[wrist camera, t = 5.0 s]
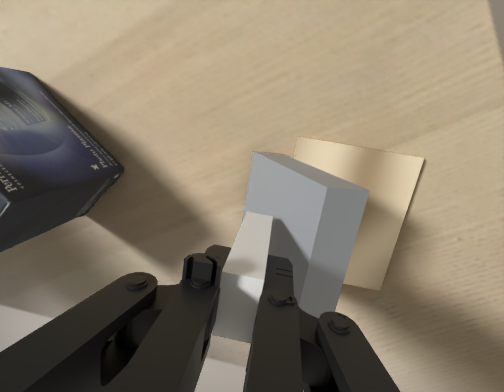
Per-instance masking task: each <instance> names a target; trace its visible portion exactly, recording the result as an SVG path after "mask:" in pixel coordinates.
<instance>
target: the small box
mask: <svg viewBox="0 0 504 392" xmlns="http://www.w3.org/2000/svg"><path fill="white" fill-rule="evenodd" d="M123 171H124V168H123V167H122V165H121V164H120V163H119V162H118V161H117V160H116V159H115V158H114V157H113V156H112V155H111V154H110V153H109V152H108V151H107V150H106V149H105V148H104V147H103V146H102V145H101V144H100V143H99V142H98V141H97V140H96V139H95V138H94V137H93V136H92V135H91V134H90V133H89V132H88V131H87V130H86V129H85V128H84V127H83V126H82V125H81V124H80V123H79V122H78V121H77V120H76V119H75V118H74V117H73V116H72V115H71V114H70V113H69V112H68V111H67V110H66V109H65V108H64V107H63V106H62V105H61V104H60V103H59V102H58V101H57V100H56V99H55V98H54V97H53V96H52V95H51V94H50V93H49V92H48V91H47V90H46V89H45V88H44V87H43V86H42V85H41V84H40V83H39V81H38V80H37V79H36V78H35V77H34V76H33V75H32V74H31V73H30V72H25V71H20V70H14V69H9V68H4V67H0V252H2V251H4V250H6V249H8V248H11V247H13V246H15V245H17V244H19V243H22V242H24V241H26V240H28V239H30V238H32V237H35V236H37V235H39V234H42V233H44V232H46V231H48V230H50V229H53V228H55V227H57V226H59V225H61V224H63V223H65V222H68V221H70V220H72V219H74V218H77V217H81V216H85V214H86V213H87V212H88V211H89V210H90V208H91V206H93V205H94V203H95V202H96V201H97V200H98V199H99V198H100V197H101V195H103V193H104V192H106V191H107V189H108V188H109V187H110V186H112V185H113V184H114V183H115V182H116V180H117V179H118V178H119V176H120V175H121V174H122V173H123Z"/></svg>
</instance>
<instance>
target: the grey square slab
mask: <svg viewBox="0 0 504 392" xmlns="http://www.w3.org/2000/svg"><path fill="white" fill-rule="evenodd" d="M369 191H370V190H368V189H366V188H363V187H361V186H358V185H356V184H354V183H351V182H349V181H346V180H344V179H342V178H339V177H337V176H334V175H332V174H330V173H327V172H325V171H322V170H320V169H317V168H315V167H313V166H310V165H308V164H305V163H303V162H301V161H298V160H296V159H293V158H291V157H289V156H286V155H284V154H275V153H266V152H256V151H253V157H252V164H251V170H250V176H249V182H248V188H247V195H246V201H245V207H244V213H243V220H244V217H245V215H246V213H247V212H252V213H258V214H263V215H268V216H273V220H272V227H271V234H270V242H269V249H268V255H273V256H278V257H283V258H288V259H289V261H290V262H291V263H292V265H293V286H294V297H295V298H296V299H297V302H298V306H299V307H300V308H301V309H302V310H303V311H305V312H306V313H308V314H310V315H312V316H314V317H317V318H319V317H320V315H321V314H322V313H324V312H330V311H332V312H335V309H336V306H337V302H338V299H339V296H340V292H341V289H342V285H343V282H344V278H345V275H346V271H347V268H348V264H349V261H350V257H351V254H352V250H353V247H354V243H355V240H356V236H357V233H358V230H359V226H360V223H361V219H362V216H363V212H364V209H365V205H366V202H367V198H368V195H369ZM243 220H242V222H243Z"/></svg>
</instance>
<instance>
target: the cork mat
mask: <svg viewBox="0 0 504 392" xmlns="http://www.w3.org/2000/svg"><path fill="white" fill-rule="evenodd" d="M293 159H296V160H298V161H301V162H303V163H305V164H308V165H310V166H313V167H315V168H317V169H320V170H322V171H325V172H327V173H330V174H332V175H334V176H337V177H339V178H342V179H344V180H346V181H349V182H351V183H354V184H356V185H358V186H361V187H363V188H366V189H368V190H370V191H369V195H368V198H367V202H366V205H365V209H364V212H363V216H362V219H361V223H360V226H359V230H358V233H357V236H356V240H355V243H354V247H353V250H352V254H351V257H350V261H349V264H348V268H347V271H346V275H345V278H344V282H343V284H348V285H353V286H358V287H363V288H368V289H373V290H378V291H380V289H381V286H382V284H383V281H384V278H385V275H386V272H387V269H388V266H389V263H390V260H391V257H392V254H393V251H394V248H395V245H396V242H397V239H398V236H399V233H400V230H401V227H402V224H403V221H404V218H405V215H406V212H407V209H408V206H409V203H410V200H411V197H412V194H413V191H414V188H415V185H416V182H417V179H418V176H419V173H420V170H421V167H422V164H423V161H424V158H422V157H416V156H410V155H405V154H399V153H393V152H387V151H381V150H375V149H369V148H363V147H358V146H352V145H346V144H340V143H334V142H328V141H322V140H316V139H311V138H305V137H299V136H298V138H297V143H296V148H295V153H294V158H293Z"/></svg>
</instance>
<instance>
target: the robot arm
mask: <svg viewBox="0 0 504 392" xmlns="http://www.w3.org/2000/svg"><path fill="white" fill-rule="evenodd" d="M272 220H273V216H268V215H263V214H258V213H252V212H247V213H246V215H245V217H244V220H243V222H242V225H241V227H240V229H239V232H238V234H237V236H236V239H235V241H234V244H233V246H232V248H229V247H224V246H219V245H215V244H214V245H213V246H211V247H209V248H207V250H206V252H205V253H196V254H191V255H188V256H187V257H186V258H184V266H183V275H182V280H181V282H180V283H179V284H176V285H157V283H158V281H157V279H156V277H154V276H153V275H151V274H148V273H144V272H135V273H130V274H127V275H125V276H122V277H121V278H119V279H117V280H116V281H114V282H113V283H111V284H109V285H108V286H106V287H105V288H103V289H101V290H100V291H98V292H96V293H95V294H93V295H92V296H90V297H88V298H87V299H85V300H84V301H82V302H80V303H79V304H77V305H76V306H74V307H72V308H71V309H69V310H68V311H66V312H64V313H63V314H61V315H59V316H58V317H56V318H55V319H53V320H51V321H50V322H48V323H47V324H45V325H43V326H42V327H40V328H39V329H37V330H35V331H34V332H32V333H31V334H29V335H27V336H26V337H24V338H23V339H21V340H19V341H18V342H16V343H15V344H13V345H11V346H10V347H8V348H6V349H5V350H3V351H2V352H0V392H194V390H195V388H196V385H197V382H198V378H199V376H200V372H201V370H202V366H203V364H204V361H205V358H206V355H207V352H208V349H209V345H210V338H211V333H212V330H213V335H215V336H220V337H224V338H229V339H233V340H238V341H242V342H246V343H251V347H250V352H249V357H248V362H247V367H246V376H245V382H244V388H243V392H303V391H304V392H400V391H399V389H398V387H397V386H396V384H395V383H394V381H393V380H392V378H391V377H390V375H389V373H388V372H387V370H386V369H385V367H384V366H383V364H382V363H381V361H380V359H379V358H378V356H377V355H376V353H375V352H374V350H373V349H372V347H371V345H370V344H369V342H368V341H367V339H366V338H365V336H364V334H363V333H362V331H361V330H360V328H359V327H358V325H357V324H356V323H355V322H354V321H353V320H352V319H350V318H349V317H347V316H345V315H343V314H341V313H338V312H332V311H330V312H324V313H322V314H321V315H320V317H319V318H317V317H314V316H312V315H310V314H308V313H306V312H305V311H303V310H302V309H301V308H300V307H299V306H298V302H297V299H296V298H295V297H294V286H293V265H292V263H291V262H290V261H289V259H288V258H283V257H278V256H273V255H268V249H269V242H270V234H271V227H272ZM213 327H214V328H213Z"/></svg>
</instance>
